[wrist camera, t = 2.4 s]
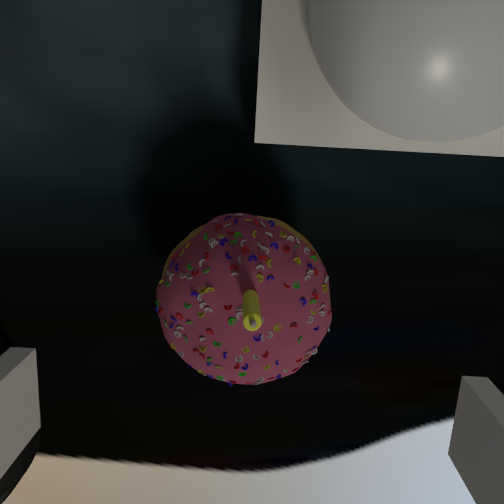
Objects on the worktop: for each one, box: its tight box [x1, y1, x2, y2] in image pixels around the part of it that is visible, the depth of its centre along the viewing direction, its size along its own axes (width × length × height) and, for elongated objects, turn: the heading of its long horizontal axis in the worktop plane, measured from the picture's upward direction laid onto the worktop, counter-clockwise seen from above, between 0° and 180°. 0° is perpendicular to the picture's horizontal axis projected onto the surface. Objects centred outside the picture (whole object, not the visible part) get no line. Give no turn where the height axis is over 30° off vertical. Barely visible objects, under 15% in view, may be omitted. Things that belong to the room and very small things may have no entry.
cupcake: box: [155, 213, 332, 386], centre depth 21 cm, size 9×8×12 cm
